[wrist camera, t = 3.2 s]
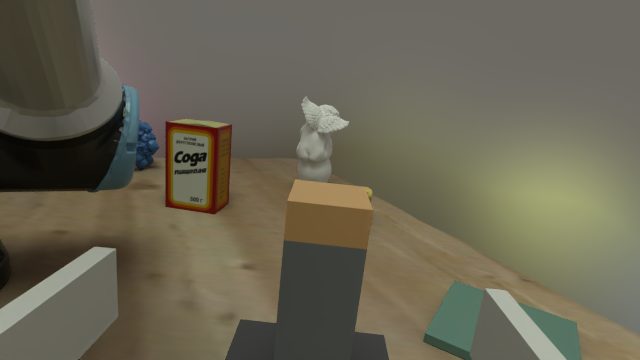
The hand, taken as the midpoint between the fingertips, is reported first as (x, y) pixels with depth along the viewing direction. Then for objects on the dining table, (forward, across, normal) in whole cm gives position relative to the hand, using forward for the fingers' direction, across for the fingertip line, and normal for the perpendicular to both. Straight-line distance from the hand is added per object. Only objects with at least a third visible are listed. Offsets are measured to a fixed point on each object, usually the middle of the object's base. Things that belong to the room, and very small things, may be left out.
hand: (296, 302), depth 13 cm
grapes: (+76, -43, -16) cm, 89 cm away
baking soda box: (+55, -23, -17) cm, 62 cm away
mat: (+25, +22, -17) cm, 37 cm away
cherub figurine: (+70, 0, -16) cm, 72 cm away
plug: (+12, +1, -17) cm, 21 cm away
